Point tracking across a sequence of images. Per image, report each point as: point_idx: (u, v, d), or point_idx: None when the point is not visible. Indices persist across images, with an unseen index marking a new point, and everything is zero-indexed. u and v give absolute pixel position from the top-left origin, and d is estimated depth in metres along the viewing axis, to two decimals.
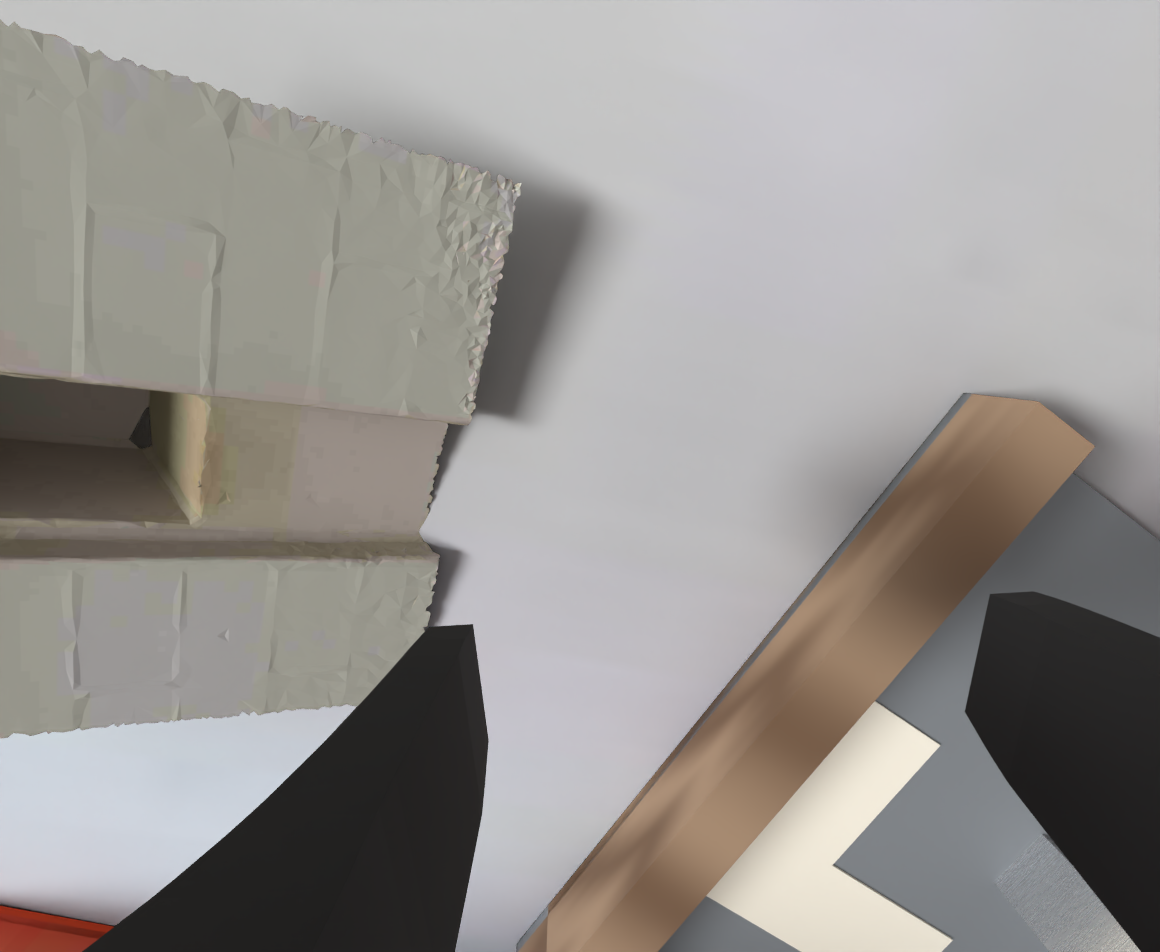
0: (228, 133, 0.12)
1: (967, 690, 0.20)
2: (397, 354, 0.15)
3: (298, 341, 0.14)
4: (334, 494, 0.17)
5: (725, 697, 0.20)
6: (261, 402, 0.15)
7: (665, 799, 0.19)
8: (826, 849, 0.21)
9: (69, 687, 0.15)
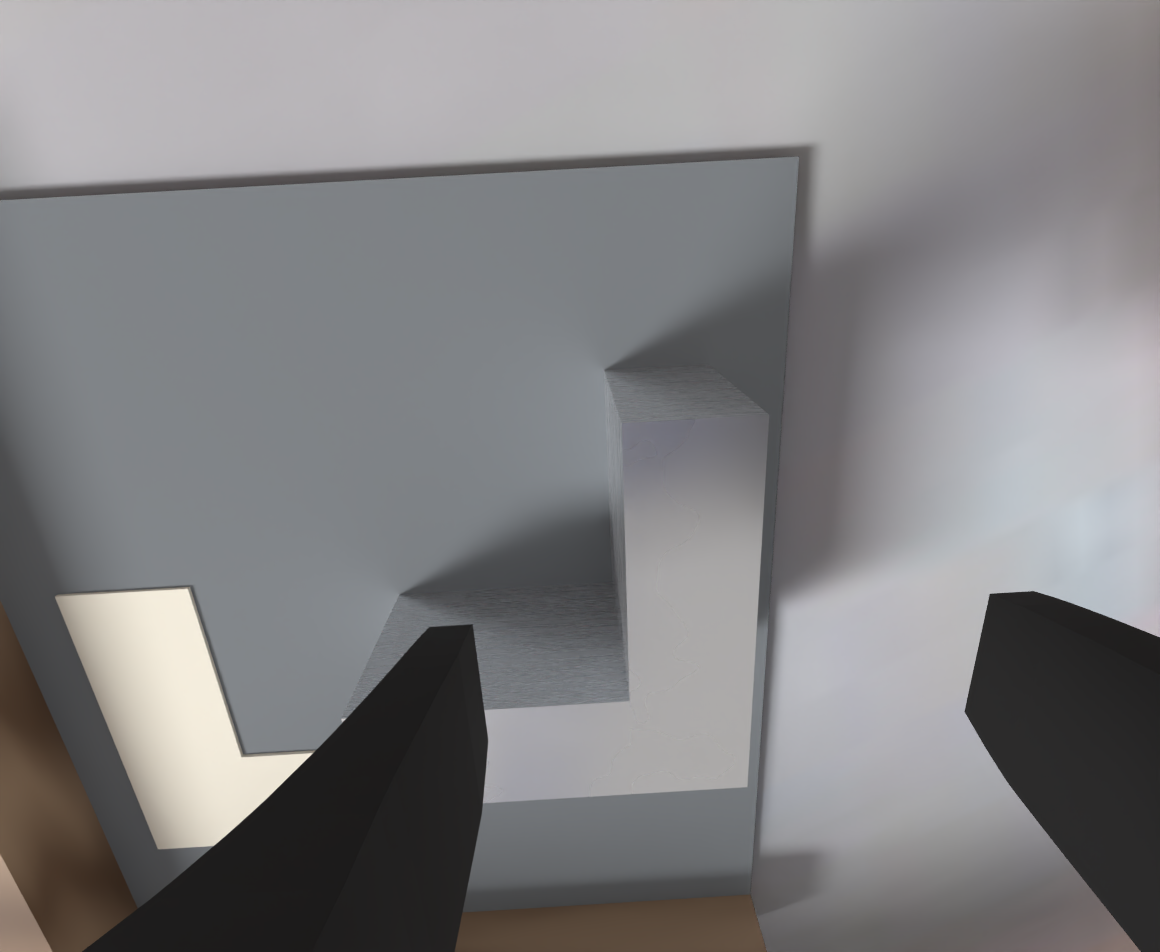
0: None
1: (147, 517, 0.15)
2: None
3: None
4: None
5: None
6: None
7: None
8: (223, 746, 0.18)
9: None
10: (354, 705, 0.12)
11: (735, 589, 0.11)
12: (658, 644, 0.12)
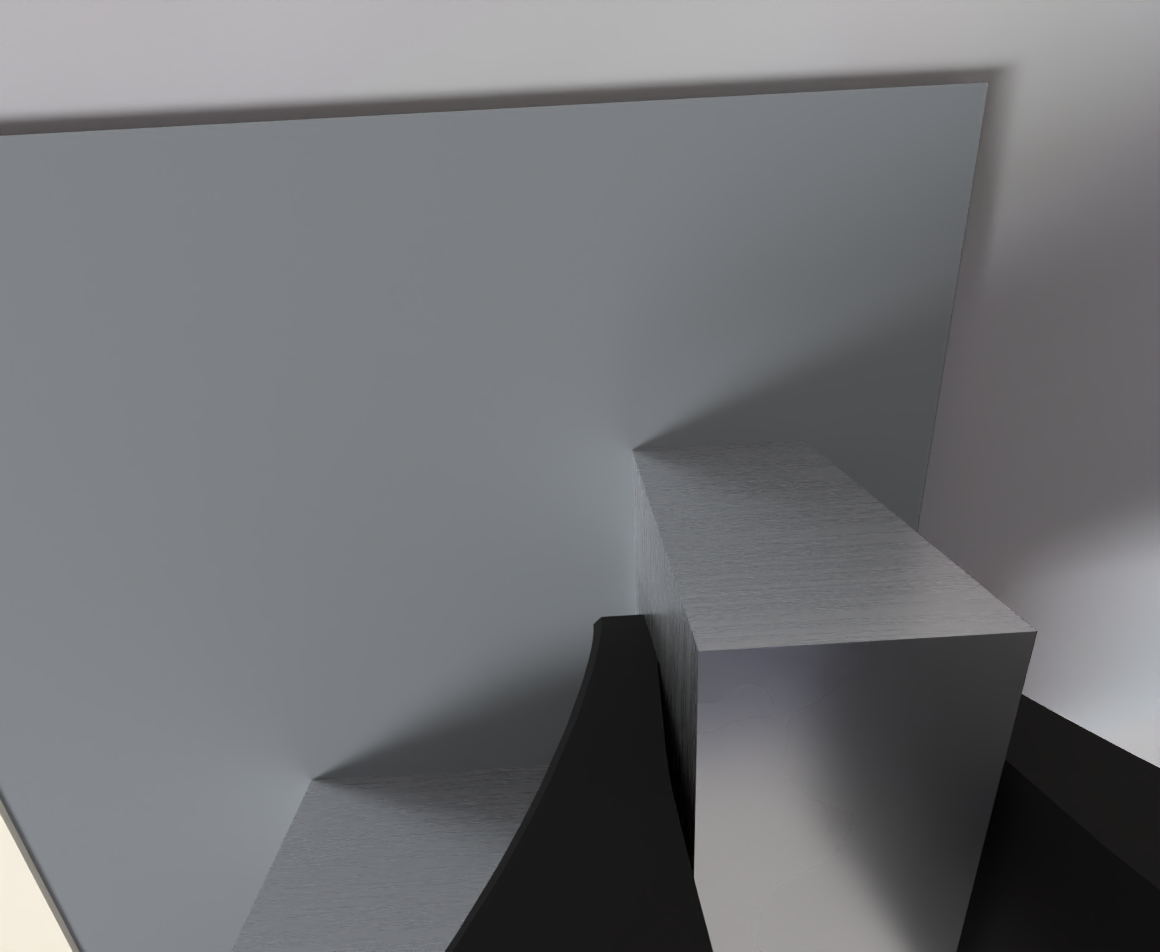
0: None
1: None
2: None
3: None
4: None
5: None
6: None
7: None
8: None
9: None
10: None
11: (912, 939, 0.06)
12: None
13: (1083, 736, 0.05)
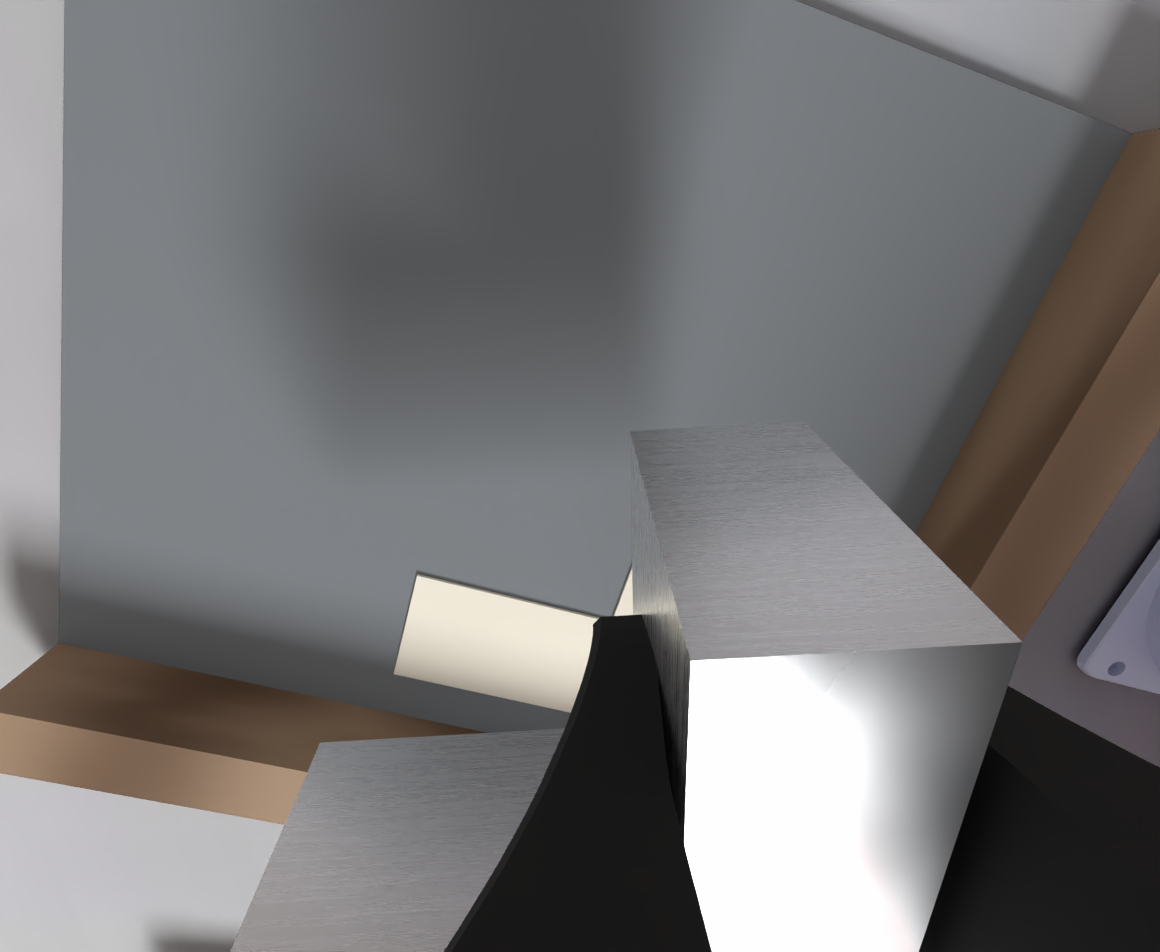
0: None
1: (342, 571, 0.17)
2: None
3: None
4: None
5: None
6: None
7: None
8: None
9: None
10: None
11: (888, 910, 0.06)
12: None
13: (1084, 736, 0.05)
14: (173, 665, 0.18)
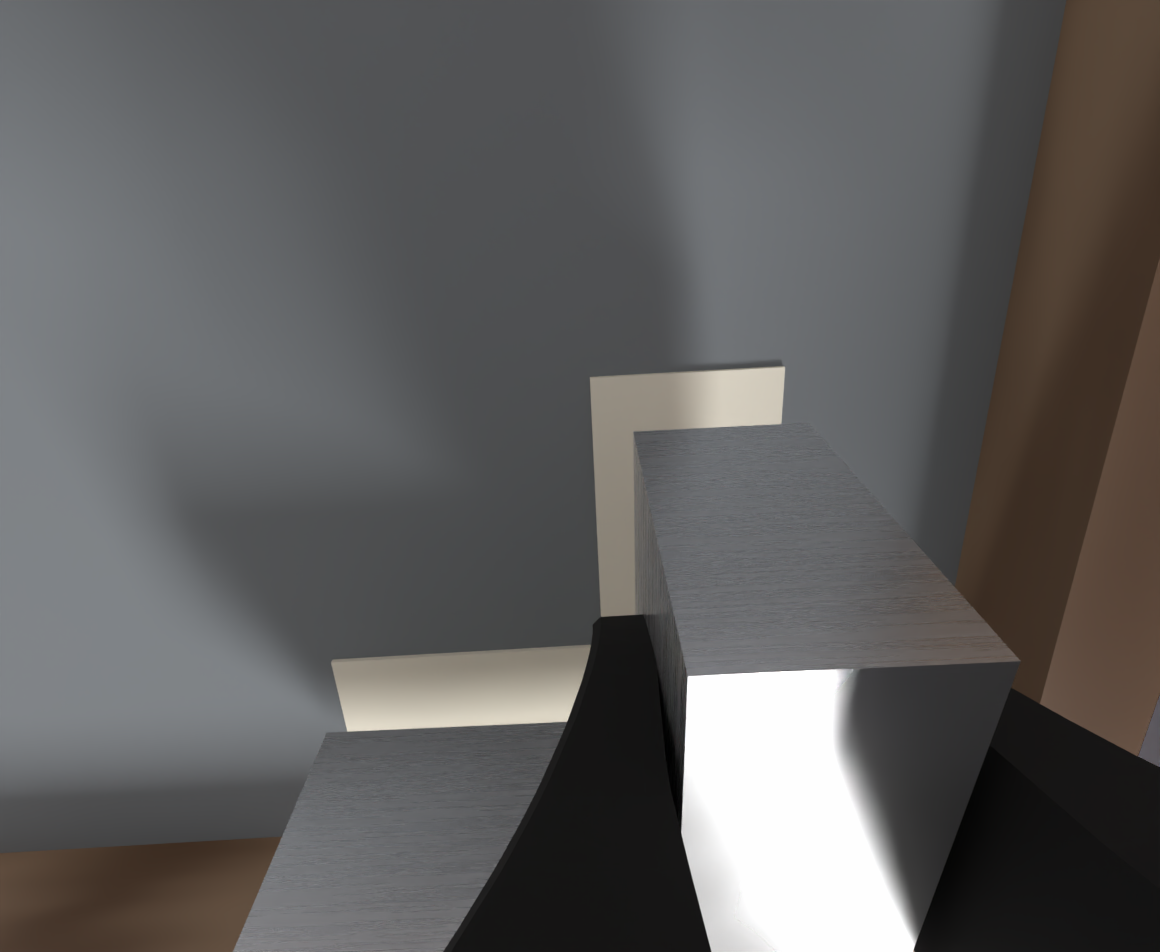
0: None
1: (243, 684, 0.13)
2: None
3: None
4: None
5: None
6: None
7: None
8: None
9: None
10: None
11: (882, 914, 0.06)
12: None
13: (1084, 736, 0.05)
14: (112, 844, 0.14)
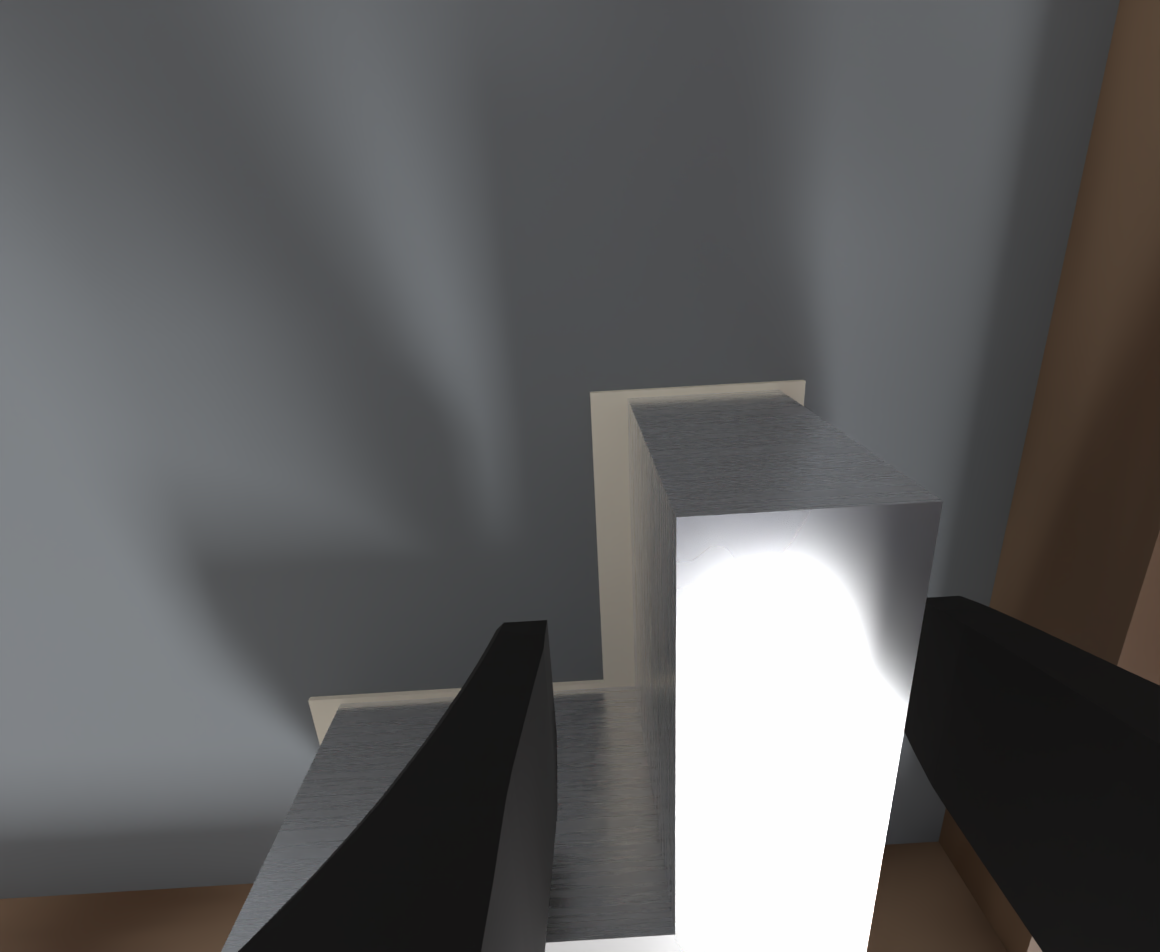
0: None
1: (213, 723, 0.12)
2: None
3: None
4: None
5: None
6: None
7: None
8: None
9: None
10: (240, 932, 0.08)
11: (857, 777, 0.07)
12: (724, 856, 0.07)
13: None
14: (75, 892, 0.13)
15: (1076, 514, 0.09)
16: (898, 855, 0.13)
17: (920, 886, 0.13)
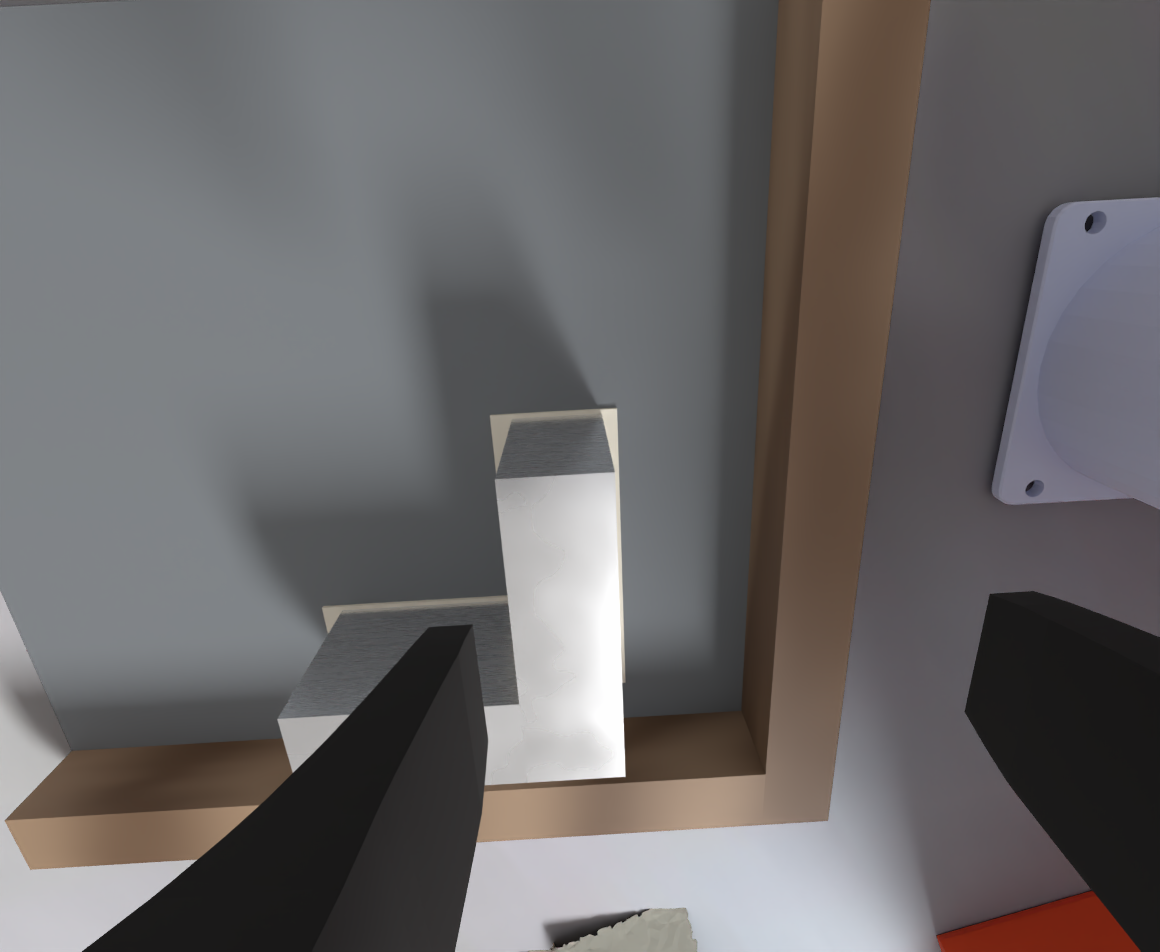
0: None
1: (260, 623, 0.19)
2: None
3: None
4: None
5: None
6: None
7: None
8: None
9: None
10: (289, 707, 0.15)
11: (600, 611, 0.13)
12: (539, 657, 0.14)
13: None
14: (165, 743, 0.20)
15: (768, 486, 0.16)
16: (712, 718, 0.20)
17: (720, 734, 0.19)
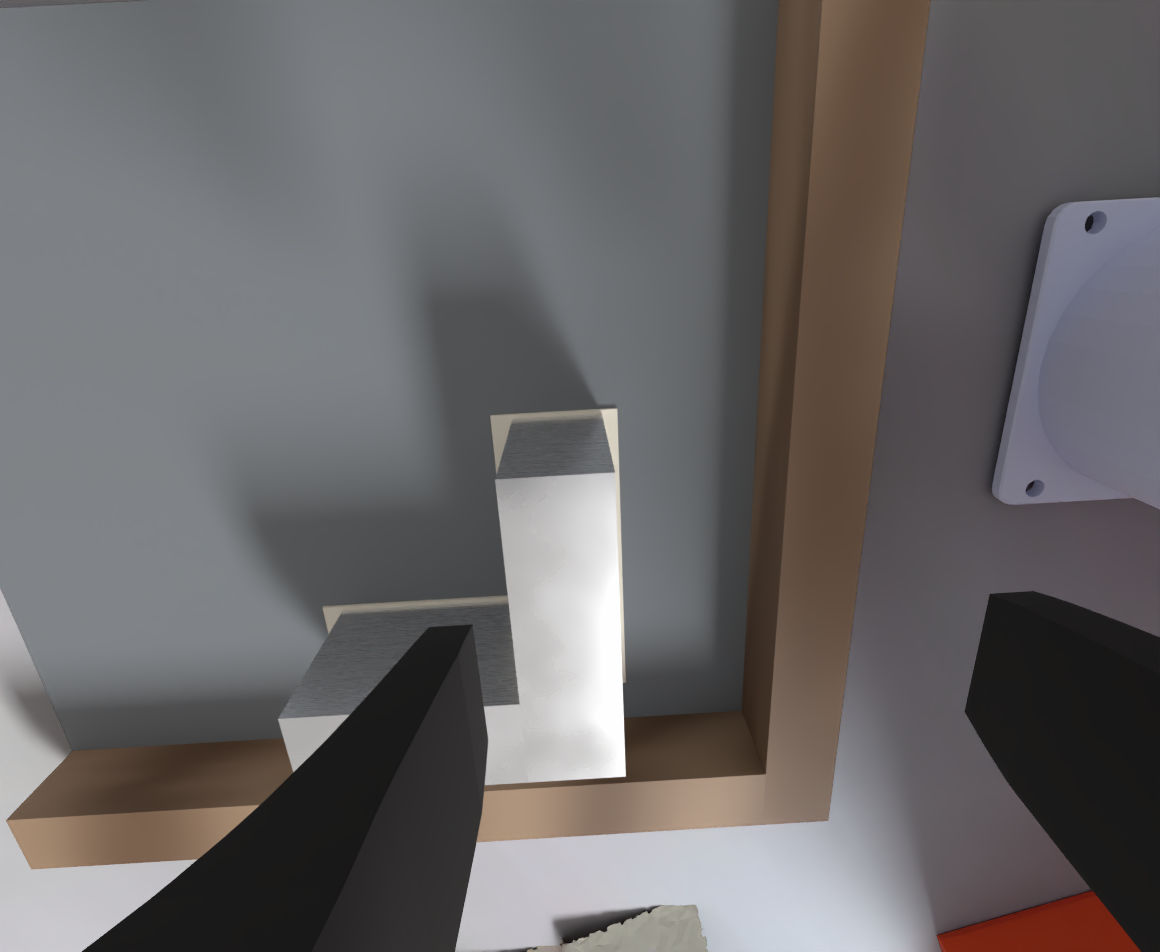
0: None
1: (261, 623, 0.19)
2: None
3: None
4: None
5: None
6: None
7: None
8: None
9: None
10: (290, 707, 0.15)
11: (600, 611, 0.13)
12: (539, 656, 0.14)
13: None
14: (166, 743, 0.20)
15: (768, 486, 0.16)
16: (712, 718, 0.20)
17: (720, 734, 0.19)
